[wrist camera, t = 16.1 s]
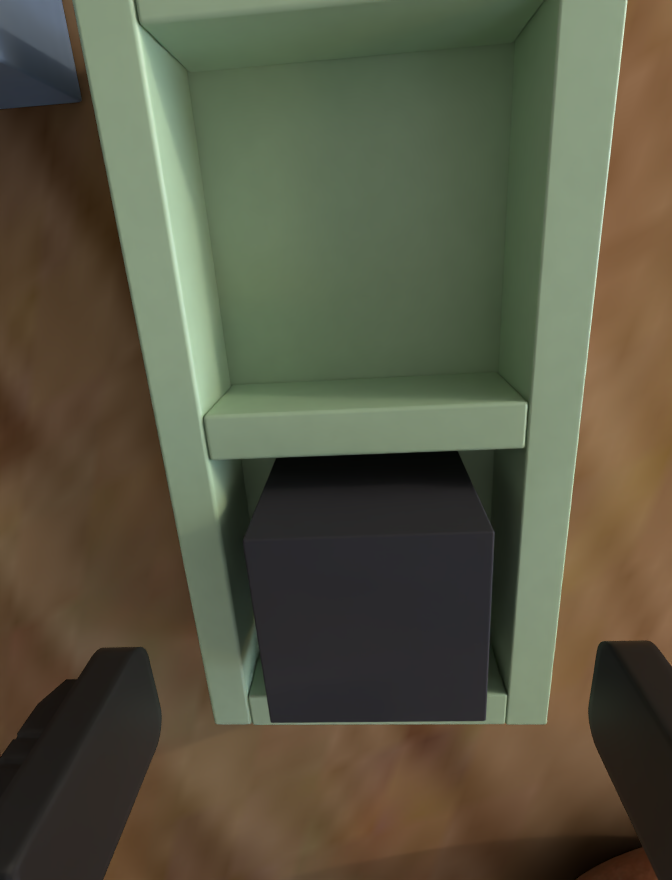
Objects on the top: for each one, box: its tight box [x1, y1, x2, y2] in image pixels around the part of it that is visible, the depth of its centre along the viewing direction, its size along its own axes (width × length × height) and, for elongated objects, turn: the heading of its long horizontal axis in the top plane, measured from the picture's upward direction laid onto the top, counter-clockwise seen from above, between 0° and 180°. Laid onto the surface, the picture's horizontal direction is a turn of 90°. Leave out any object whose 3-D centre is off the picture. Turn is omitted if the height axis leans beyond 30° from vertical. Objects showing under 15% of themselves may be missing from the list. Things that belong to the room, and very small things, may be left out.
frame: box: [72, 0, 627, 725], centre depth 12 cm, size 8×16×3 cm, turn 4°
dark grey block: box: [243, 451, 495, 723], centre depth 12 cm, size 5×5×4 cm
